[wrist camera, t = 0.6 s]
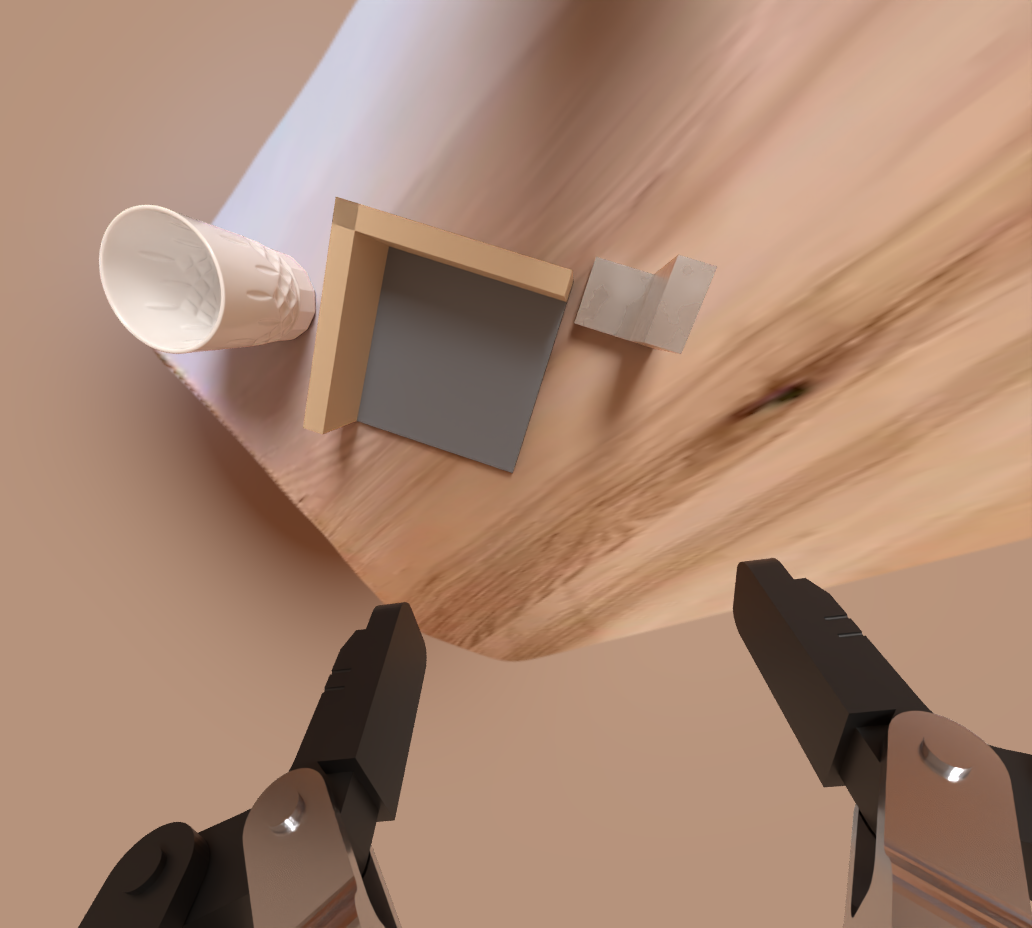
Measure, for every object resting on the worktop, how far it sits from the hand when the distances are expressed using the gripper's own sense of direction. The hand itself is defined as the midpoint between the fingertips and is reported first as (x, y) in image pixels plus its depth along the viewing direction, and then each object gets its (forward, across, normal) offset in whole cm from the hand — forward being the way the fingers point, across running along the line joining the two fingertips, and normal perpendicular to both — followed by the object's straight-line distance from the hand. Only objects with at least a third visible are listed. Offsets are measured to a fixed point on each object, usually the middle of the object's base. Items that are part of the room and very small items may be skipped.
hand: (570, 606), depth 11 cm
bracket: (+25, -7, -2) cm, 26 cm away
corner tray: (+26, +6, -1) cm, 27 cm away
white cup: (+29, +19, -7) cm, 35 cm away
